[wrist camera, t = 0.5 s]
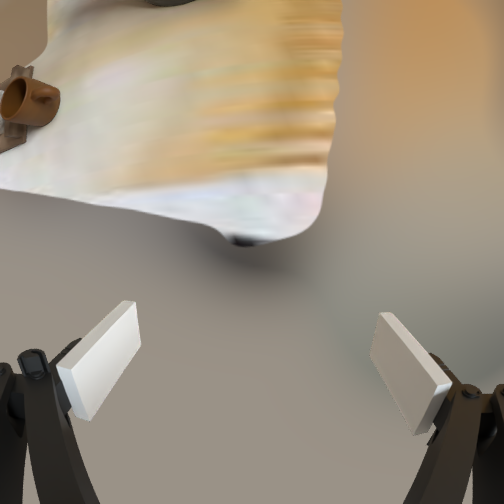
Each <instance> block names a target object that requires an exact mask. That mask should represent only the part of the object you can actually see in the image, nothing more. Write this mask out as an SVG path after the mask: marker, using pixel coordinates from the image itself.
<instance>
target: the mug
mask: <svg viewBox="0 0 504 504" xmlns="http://www.w3.org/2000/svg"><path fill="white" fill-rule="evenodd" d="M59 105H60V91H59V90H58V89H57V88H56V87H53V86H50V85H48V84H45V83H43V82H40V81H38V80H35V79H32V78H29V77H24V76H19V77H16V78H15V79H13V80H12V81H11V82H10V83H9V85H8V86H7V88H6V89H5V91H4V93H3V95H2V98H1V102H0V115H1V117H2V118H3V119H4V120H6V121H10V122H13V123H19V124H25V125H32V126H44V125H46V124H48V123H49V122H50V121H51V120H52V119H53V118H54V117H55V115H56V113H57V111H58V109H59Z"/></svg>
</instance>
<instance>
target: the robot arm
mask: <svg viewBox="0 0 504 504" xmlns="http://www.w3.org/2000/svg"><path fill="white" fill-rule="evenodd" d="M145 1H147V2H148V3H150V4H153V5H158V6H174V5H180V4H185V3H188V2H191V1H194V0H145ZM140 346H141V342H140V334H139V327H138V319H137V310H136V302H132V301H124V300H123V301H122V302H121V303H120V304H119V305H118V306H117V307H116V308H114V309H113V310H112V311H111V312H110V313H109V314H108V315H107V316H106V317H105V318H104V319H103V320H102V321H101V322H100V323H99V324H98V325H96V326H95V327H94V328H93V329H92V330H91V331H90V332H89V333H88V334H87V335H86V336H85V337H84V338H83V339H82V338H79V339H77V340H75V341H72V342H71V343H70V344H69V345H68V346H67V347H65V349H63V350H62V351H61V353H59V354H58V355H57V356H56V357H55V358H54V359H53V360H52V361H51V362H50V363H49V364H48V361H47V358H46V355H45V353H44V351H42V350H39V349H29V350H26V351H24V352H22V353H21V354H20V355H19V356H18V359H17V360H18V363H19V366H20V369H21V371H22V374H15V373H13V371H12V368H11V366H10V365H9V364H8V363H0V504H22V496H23V478H24V467H25V458H26V450H27V443H28V446H29V454H30V460H31V465H32V471H33V476H34V481H35V485H36V489H37V493H38V497H39V501H40V504H100V502H99V500H98V498H97V496H96V493H95V491H94V489H93V486H92V484H91V481H90V479H89V477H88V474H87V471H86V468H85V466H84V463H83V460H82V457H81V454H80V451H79V448H78V445H77V442H76V438H75V435H74V432H73V428H72V425H71V421H70V418H69V416H68V413H67V412H68V411H69V410H70V408H71V407H72V410H73V412H74V414H75V417H78V418H81V419H84V420H86V421H91V420H92V418H93V416H94V415H95V413H96V412H97V410H98V409H99V407H100V406H101V404H102V402H103V401H104V400H105V398H106V396H107V395H108V393H109V392H110V390H111V389H112V387H113V386H114V384H115V383H116V381H117V380H118V378H119V377H120V375H121V374H122V372H123V371H124V370H125V368H126V367H127V365H128V364H129V362H130V360H131V359H132V358H133V356H134V355H135V353H136V352H137V350H138V349H139V348H140ZM369 356H370V358H371V359H372V361H373V363H374V365H375V366H376V368H377V370H378V371H379V373H380V375H381V377H382V379H383V381H384V382H385V384H386V386H387V388H388V390H389V391H390V393H391V395H392V397H393V399H394V401H395V403H396V404H397V406H398V408H399V410H400V412H401V414H402V416H403V418H404V419H405V422H406V423H407V425H408V427H409V429H410V431H411V433H412V435H413V436H414V435H418V434H422V433H426V432H428V430H429V429H430V427H431V425H432V423H434V425H435V426H436V430H435V431H434V433H433V435H432V436H431V438H430V440H429V442H428V443H427V445H428V446H429V447H428V449H427V452H426V454H425V457H424V459H423V462H422V464H421V466H420V469H419V471H418V473H417V475H416V478H415V480H414V482H413V484H412V486H411V488H410V491H409V492H408V494H407V496H406V498H405V500H404V502H403V504H462V501H463V498H464V495H465V492H466V488H467V485H468V481H469V477H470V473H471V469H472V471H473V500H472V501H473V502H472V503H473V504H504V384H499V385H497V386H496V388H495V390H494V392H493V394H482V392H481V391H480V389H478V388H477V387H475V386H473V385H471V384H461V382H460V381H459V380H458V379H457V378H456V377H455V375H454V374H453V373H452V372H451V371H450V370H449V369H448V367H447V366H446V365H444V363H443V362H442V361H441V359H440V358H439V357H437V356H435V355H434V354H432V353H427V352H426V351H425V350H424V348H423V347H422V346H421V345H420V344H419V343H418V342H417V340H416V339H415V338H414V337H413V336H412V335H411V334H410V332H409V331H408V330H407V329H406V328H405V327H404V326H403V325H402V324H401V322H400V321H399V320H398V319H397V318H396V317H395V316H394V315H393V314H392V313H391V312H388V313H379V316H378V321H377V325H376V330H375V334H374V339H373V342H372V346H371V350H370V355H369Z"/></svg>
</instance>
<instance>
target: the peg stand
mask: <svg viewBox="0 0 504 504" xmlns="http://www.w3.org/2000/svg"><path fill="white" fill-rule="evenodd" d="M33 68H34V67H33V66H29V67H27V68H24V67H21V66H19V65H17V66H15V67H14V68H13V69H12V73H11V77H10V78H9V79H7V80H6V81H4V82H3V83H1V84H0V102H1V98H2V95H3V93H4V91H5V89H6V88H7V86H8V85H9V83H10V82H11V81H12V80H13V79H15V78H16V77H19V76H24V77H29V78H32V74H33ZM26 135H27V125H25V124H19V123H13V122H10V121H6V120H4V119H3V118H2V117H1V115H0V153H2V152H4V151H7V150H9V149H11V148H13V147H16V146H18V145H20V144H23V143H25V142H26Z"/></svg>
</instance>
